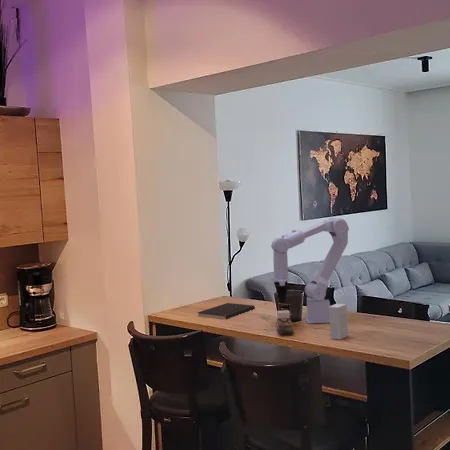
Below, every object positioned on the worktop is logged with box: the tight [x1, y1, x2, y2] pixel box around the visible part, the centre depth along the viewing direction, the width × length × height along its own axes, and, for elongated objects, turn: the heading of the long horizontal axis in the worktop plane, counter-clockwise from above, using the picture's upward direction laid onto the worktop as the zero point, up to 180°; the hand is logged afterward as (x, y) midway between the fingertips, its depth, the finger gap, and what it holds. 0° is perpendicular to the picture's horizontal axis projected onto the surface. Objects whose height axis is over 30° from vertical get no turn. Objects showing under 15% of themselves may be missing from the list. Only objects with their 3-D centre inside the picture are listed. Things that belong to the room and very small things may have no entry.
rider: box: [276, 309, 291, 321], centre depth 232 cm, size 5×4×3 cm
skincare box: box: [329, 303, 349, 341], centre depth 213 cm, size 6×4×12 cm
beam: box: [276, 317, 294, 335], centre depth 227 cm, size 6×14×4 cm, turn 178°
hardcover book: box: [197, 302, 256, 320], centre depth 267 cm, size 16×23×2 cm
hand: (281, 300), depth 238 cm, fingers open, 7 cm apart
